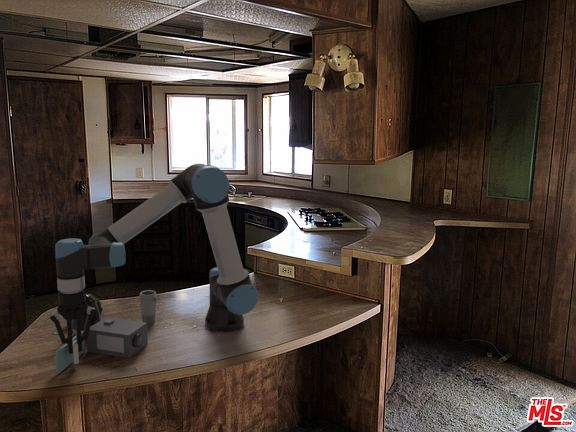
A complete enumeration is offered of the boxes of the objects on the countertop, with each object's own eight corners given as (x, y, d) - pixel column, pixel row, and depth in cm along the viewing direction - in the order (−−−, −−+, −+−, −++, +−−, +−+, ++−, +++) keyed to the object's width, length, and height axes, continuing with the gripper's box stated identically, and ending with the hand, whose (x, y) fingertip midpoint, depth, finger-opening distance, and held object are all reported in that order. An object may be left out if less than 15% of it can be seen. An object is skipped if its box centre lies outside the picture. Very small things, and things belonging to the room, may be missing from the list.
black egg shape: (83, 343, 159) (81, 301, 157) (65, 335, 165) (63, 295, 162) (108, 333, 168) (106, 293, 166) (90, 326, 173) (88, 288, 171)
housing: (151, 344, 160) (150, 320, 158) (133, 359, 149) (132, 333, 148) (107, 338, 164) (106, 314, 162) (86, 351, 153) (85, 327, 152)
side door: (59, 373, 138) (58, 352, 137) (53, 373, 138) (51, 351, 137) (86, 350, 153) (85, 330, 152) (80, 350, 153) (79, 330, 152)
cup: (161, 322, 179) (160, 293, 177) (145, 327, 174) (145, 297, 172) (151, 317, 184) (150, 288, 182) (136, 321, 179) (135, 292, 177)
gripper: (92, 283, 145) (96, 352, 149) (46, 289, 138) (52, 361, 142) (96, 290, 138) (99, 362, 143) (48, 296, 132) (53, 372, 136)
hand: (75, 361), depth 142 cm, fingers closed
